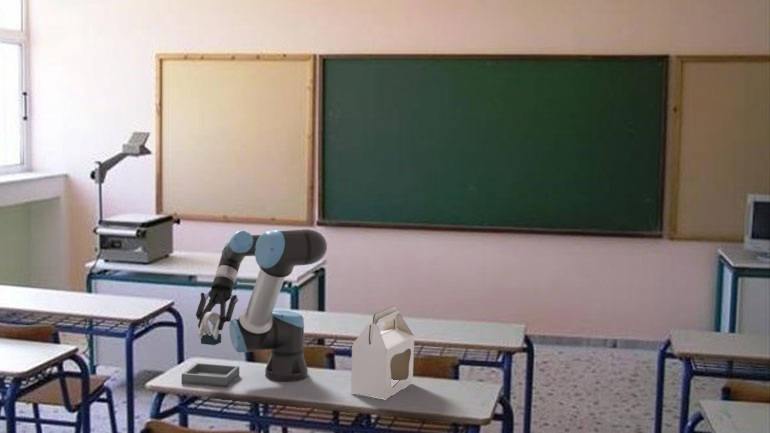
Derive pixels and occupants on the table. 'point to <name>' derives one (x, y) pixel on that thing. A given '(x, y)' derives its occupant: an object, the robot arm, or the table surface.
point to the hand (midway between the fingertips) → (207, 336)
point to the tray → (210, 375)
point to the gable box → (382, 356)
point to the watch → (208, 335)
